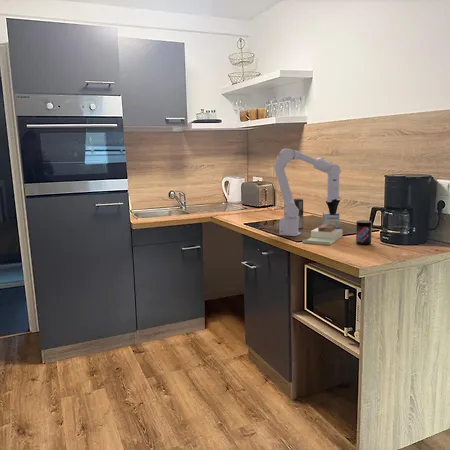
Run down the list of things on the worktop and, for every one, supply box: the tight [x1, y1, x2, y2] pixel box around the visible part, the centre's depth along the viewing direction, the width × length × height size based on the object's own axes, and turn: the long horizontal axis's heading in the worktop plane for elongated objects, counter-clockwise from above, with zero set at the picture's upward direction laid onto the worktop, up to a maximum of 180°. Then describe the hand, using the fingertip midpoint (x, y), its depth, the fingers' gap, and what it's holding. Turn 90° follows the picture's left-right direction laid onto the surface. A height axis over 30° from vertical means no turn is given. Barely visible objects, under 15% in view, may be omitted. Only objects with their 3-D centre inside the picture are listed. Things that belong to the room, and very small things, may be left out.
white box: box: [310, 227, 343, 241], centre depth 207 cm, size 13×10×4 cm
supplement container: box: [355, 219, 373, 246], centre depth 190 cm, size 7×7×10 cm
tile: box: [317, 224, 336, 232], centre depth 207 cm, size 6×9×2 cm, turn 150°
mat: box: [301, 236, 338, 246], centre depth 198 cm, size 13×12×2 cm
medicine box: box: [322, 212, 340, 229], centre depth 228 cm, size 8×4×9 cm, turn 101°
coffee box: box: [283, 198, 304, 229], centre depth 234 cm, size 9×6×16 cm
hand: (332, 214), depth 215 cm, fingers open, 2 cm apart
